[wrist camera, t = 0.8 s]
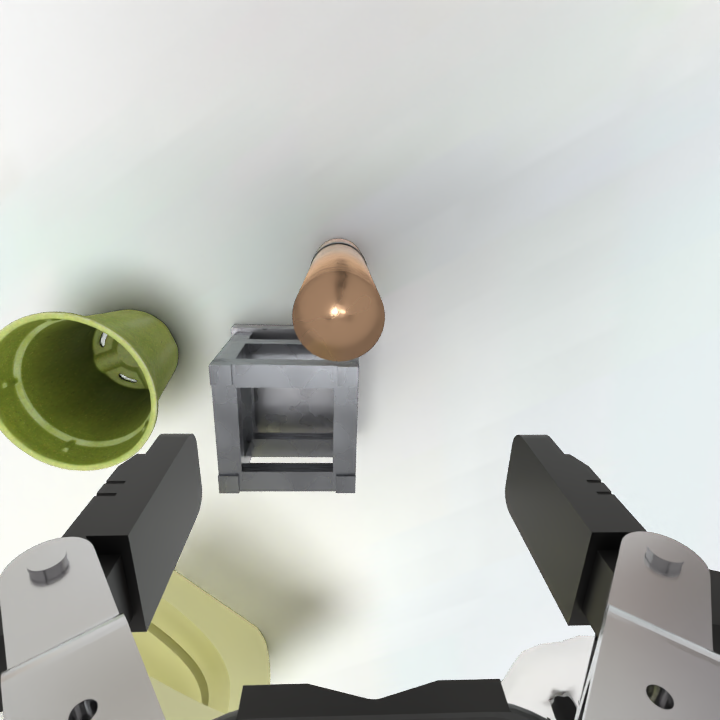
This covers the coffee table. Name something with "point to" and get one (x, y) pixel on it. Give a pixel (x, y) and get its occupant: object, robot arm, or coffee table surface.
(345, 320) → the tube
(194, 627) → the slatted curved stool
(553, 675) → the figurine
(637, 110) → the coffee table surface
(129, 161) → the coffee table surface
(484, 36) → the coffee table surface
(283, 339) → the metal frame cube
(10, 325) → the plant pot
